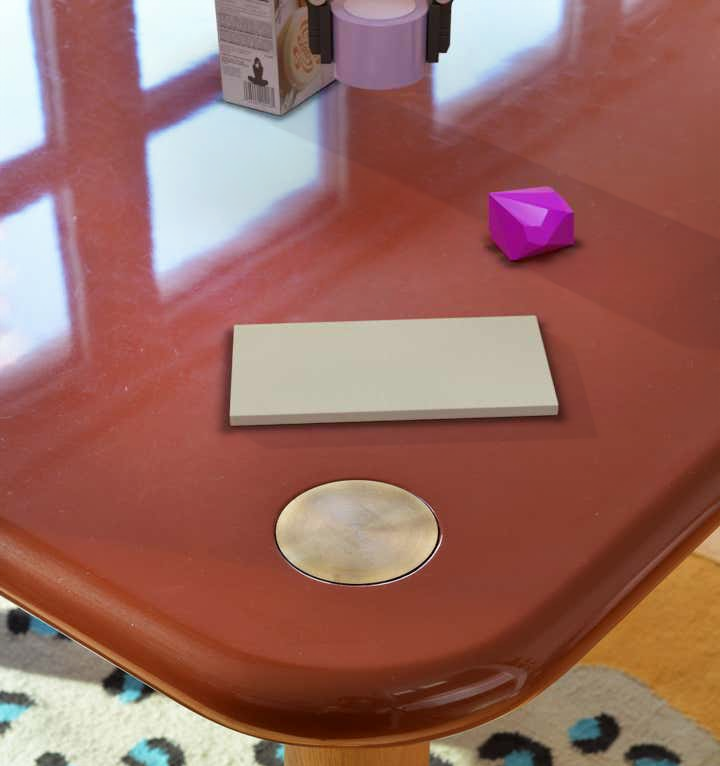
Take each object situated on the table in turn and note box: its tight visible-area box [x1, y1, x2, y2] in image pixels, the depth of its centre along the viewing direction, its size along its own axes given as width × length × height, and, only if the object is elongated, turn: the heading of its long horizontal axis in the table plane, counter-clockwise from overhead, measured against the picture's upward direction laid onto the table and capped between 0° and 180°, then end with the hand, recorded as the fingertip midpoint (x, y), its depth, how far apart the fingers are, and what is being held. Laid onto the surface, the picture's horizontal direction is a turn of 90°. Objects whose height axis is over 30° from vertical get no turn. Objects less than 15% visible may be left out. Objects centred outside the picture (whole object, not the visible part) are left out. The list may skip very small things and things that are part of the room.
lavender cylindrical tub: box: [330, 0, 428, 91], centre depth 84 cm, size 6×6×4 cm
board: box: [229, 315, 559, 427], centre depth 86 cm, size 20×10×1 cm, turn 92°
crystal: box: [488, 185, 575, 261], centre depth 97 cm, size 5×5×5 cm
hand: (379, 57), depth 85 cm, fingers closed on lavender cylindrical tub, 6 cm apart
